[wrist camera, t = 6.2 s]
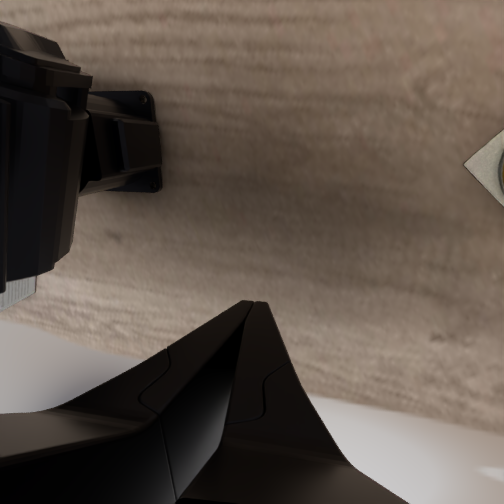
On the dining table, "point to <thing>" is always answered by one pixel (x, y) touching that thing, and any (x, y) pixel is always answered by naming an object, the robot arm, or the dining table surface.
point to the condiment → (490, 166)
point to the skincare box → (16, 292)
